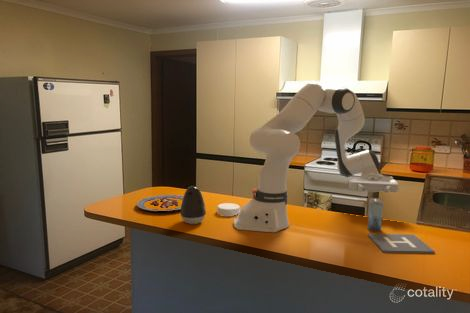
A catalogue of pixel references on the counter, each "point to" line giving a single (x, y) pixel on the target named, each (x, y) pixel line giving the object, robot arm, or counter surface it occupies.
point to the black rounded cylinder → (193, 206)
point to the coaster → (228, 209)
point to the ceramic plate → (163, 199)
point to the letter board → (400, 243)
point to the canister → (375, 214)
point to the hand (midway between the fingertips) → (374, 189)
